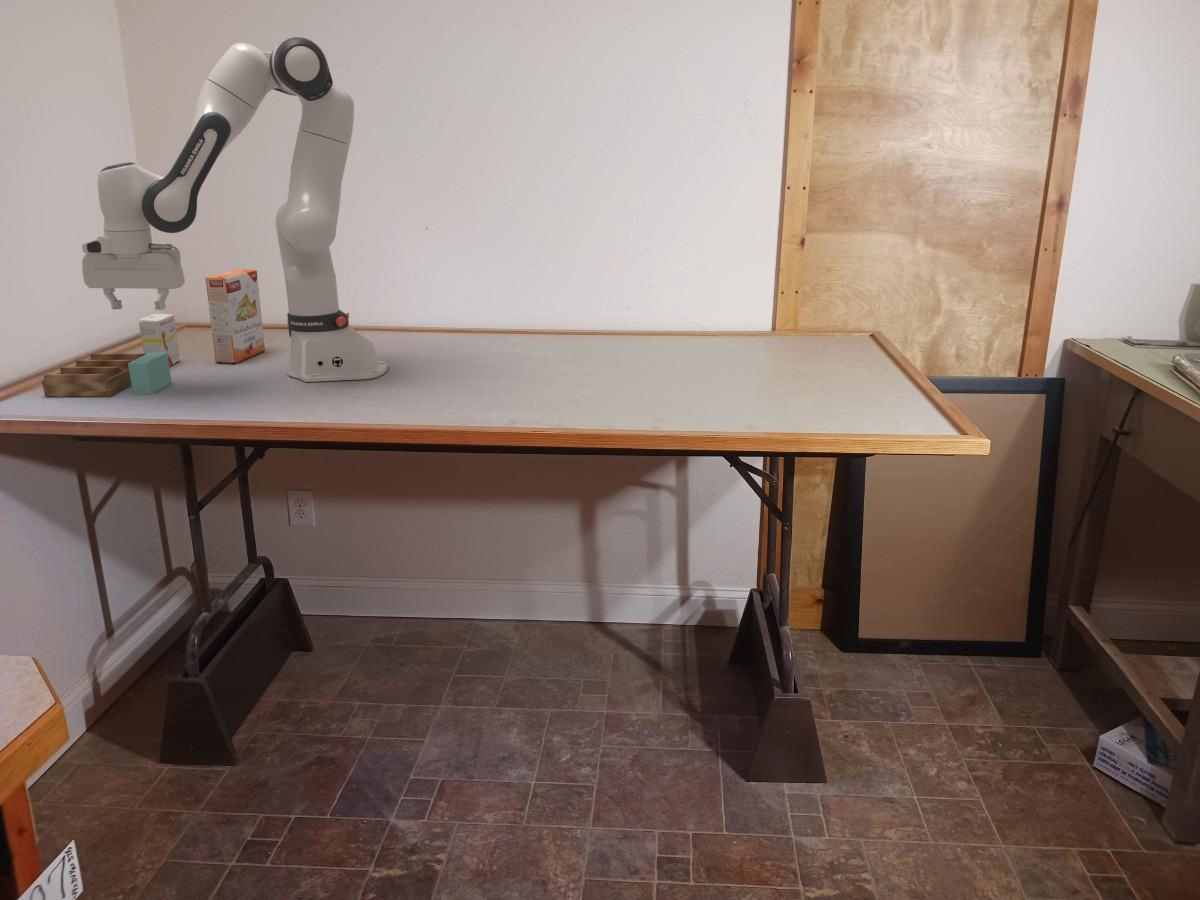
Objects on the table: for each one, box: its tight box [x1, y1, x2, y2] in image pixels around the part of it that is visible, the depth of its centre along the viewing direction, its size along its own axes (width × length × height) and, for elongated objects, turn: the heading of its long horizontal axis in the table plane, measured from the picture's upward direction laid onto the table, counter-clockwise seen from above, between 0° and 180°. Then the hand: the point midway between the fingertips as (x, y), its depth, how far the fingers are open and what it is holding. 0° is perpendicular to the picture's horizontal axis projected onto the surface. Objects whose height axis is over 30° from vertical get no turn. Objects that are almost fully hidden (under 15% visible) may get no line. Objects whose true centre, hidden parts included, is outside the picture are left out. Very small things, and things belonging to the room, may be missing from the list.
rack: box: [41, 352, 147, 398], centre depth 216 cm, size 14×20×5 cm
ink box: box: [138, 313, 181, 367], centre depth 232 cm, size 9×5×12 cm, turn 177°
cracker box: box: [204, 268, 266, 364], centre depth 238 cm, size 14×6×21 cm, turn 168°
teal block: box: [128, 353, 172, 396], centre depth 213 cm, size 4×10×7 cm, turn 179°
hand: (139, 309), depth 208 cm, fingers open, 8 cm apart
